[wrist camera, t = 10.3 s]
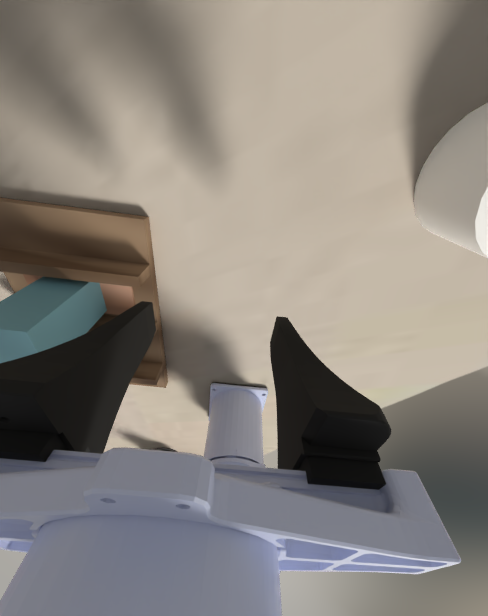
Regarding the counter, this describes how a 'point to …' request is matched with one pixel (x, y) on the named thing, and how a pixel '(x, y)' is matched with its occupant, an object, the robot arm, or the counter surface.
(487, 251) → the cylinder with rectangular tab
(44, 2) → the counter surface
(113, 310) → the slot rack
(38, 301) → the plug block
